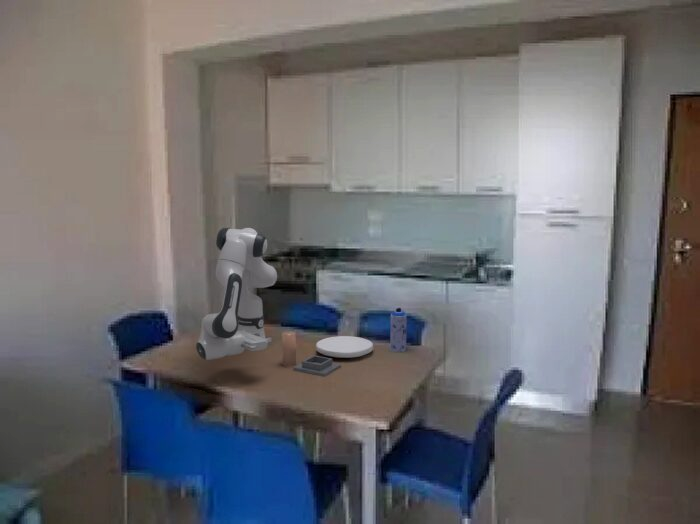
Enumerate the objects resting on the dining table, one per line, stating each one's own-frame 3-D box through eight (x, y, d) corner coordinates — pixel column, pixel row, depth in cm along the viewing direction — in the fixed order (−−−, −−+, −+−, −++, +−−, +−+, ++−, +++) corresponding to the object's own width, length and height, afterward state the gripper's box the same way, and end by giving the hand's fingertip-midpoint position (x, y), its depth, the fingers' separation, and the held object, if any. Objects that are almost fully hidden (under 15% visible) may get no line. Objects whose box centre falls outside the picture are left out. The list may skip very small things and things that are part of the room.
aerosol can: (403, 352, 276) (403, 310, 273) (387, 350, 279) (387, 309, 276) (408, 348, 283) (409, 307, 280) (393, 346, 286) (393, 305, 283)
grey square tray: (293, 369, 254) (293, 361, 253) (310, 361, 265) (310, 353, 264) (325, 376, 246) (324, 367, 245) (341, 367, 257) (340, 358, 256)
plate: (324, 332, 293) (377, 336, 288) (324, 345, 293) (377, 349, 288) (309, 343, 265) (367, 347, 260) (308, 357, 266) (367, 362, 261)
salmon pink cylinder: (279, 364, 260) (279, 334, 258) (287, 360, 265) (287, 330, 263) (290, 367, 257) (290, 335, 255) (298, 363, 262) (298, 332, 260)
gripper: (248, 341, 234) (278, 334, 243) (223, 330, 249) (252, 325, 258) (249, 356, 235) (278, 349, 243) (224, 345, 250) (252, 339, 259)
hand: (264, 337), depth 251 cm, fingers open, 8 cm apart
